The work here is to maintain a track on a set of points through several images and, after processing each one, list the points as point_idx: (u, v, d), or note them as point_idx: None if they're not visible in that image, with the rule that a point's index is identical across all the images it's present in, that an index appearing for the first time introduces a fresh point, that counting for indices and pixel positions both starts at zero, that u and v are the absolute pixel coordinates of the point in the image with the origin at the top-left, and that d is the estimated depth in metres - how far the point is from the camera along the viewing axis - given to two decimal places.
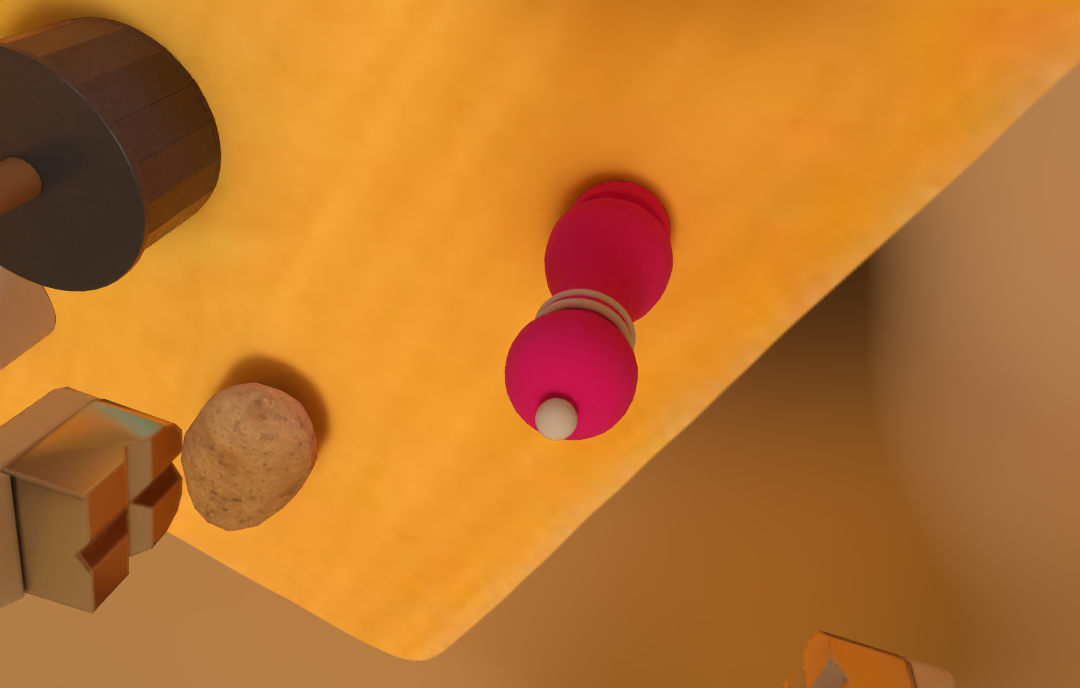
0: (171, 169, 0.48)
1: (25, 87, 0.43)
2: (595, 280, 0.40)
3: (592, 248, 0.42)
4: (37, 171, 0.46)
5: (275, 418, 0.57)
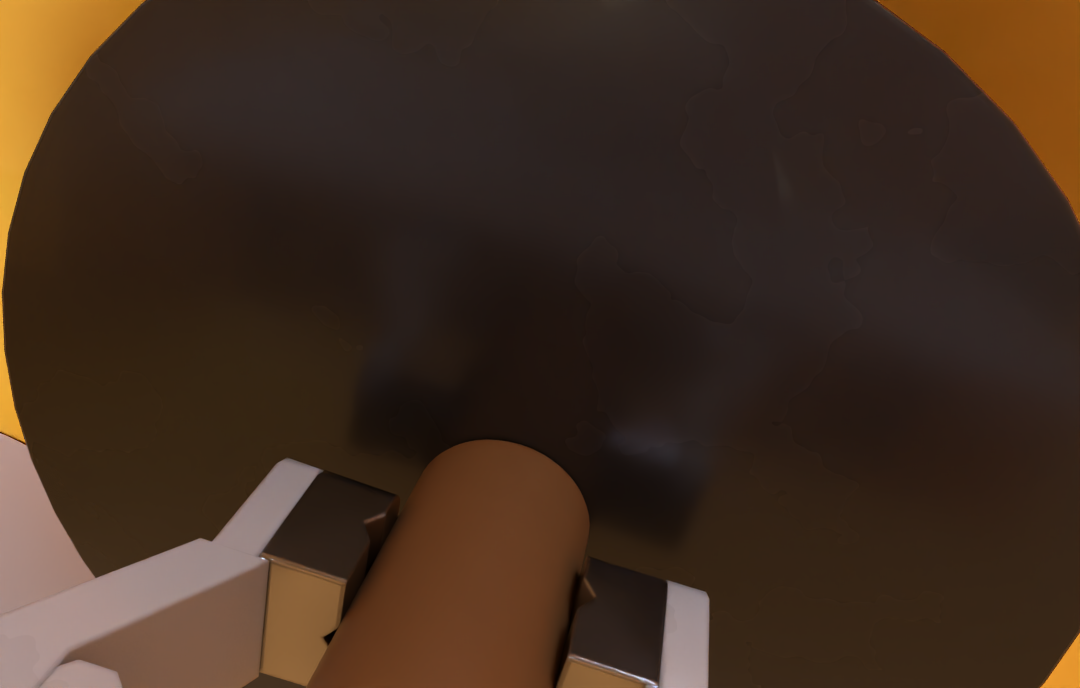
0: None
1: (716, 138, 0.08)
2: None
3: None
4: (586, 497, 0.11)
5: None
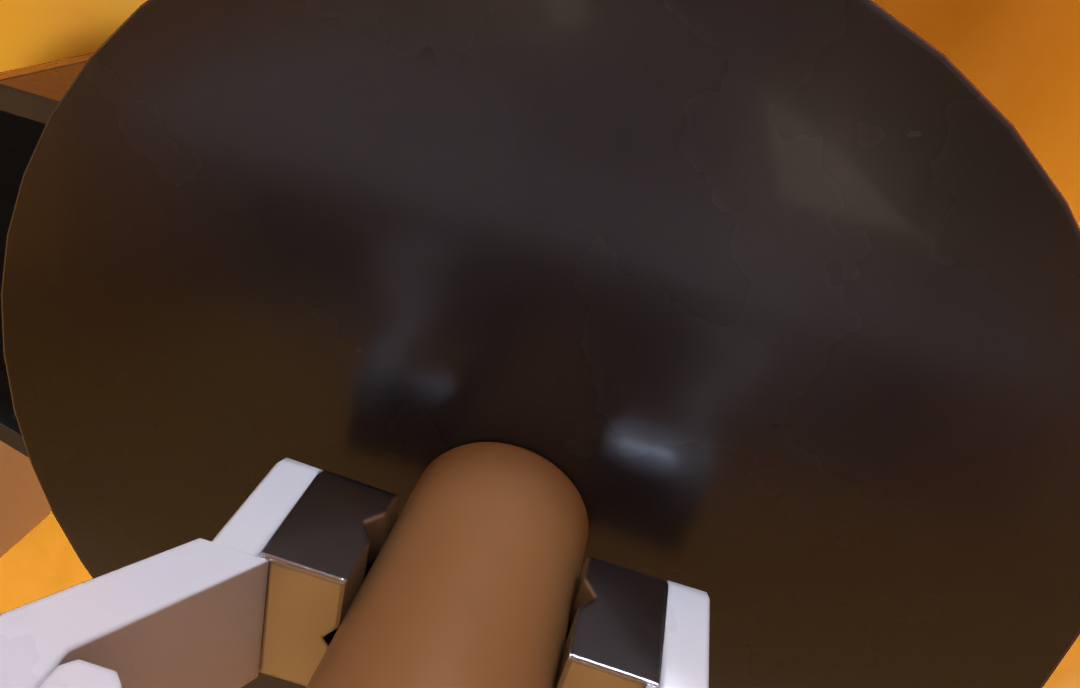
0: None
1: (715, 141, 0.08)
2: None
3: None
4: (585, 499, 0.11)
5: None
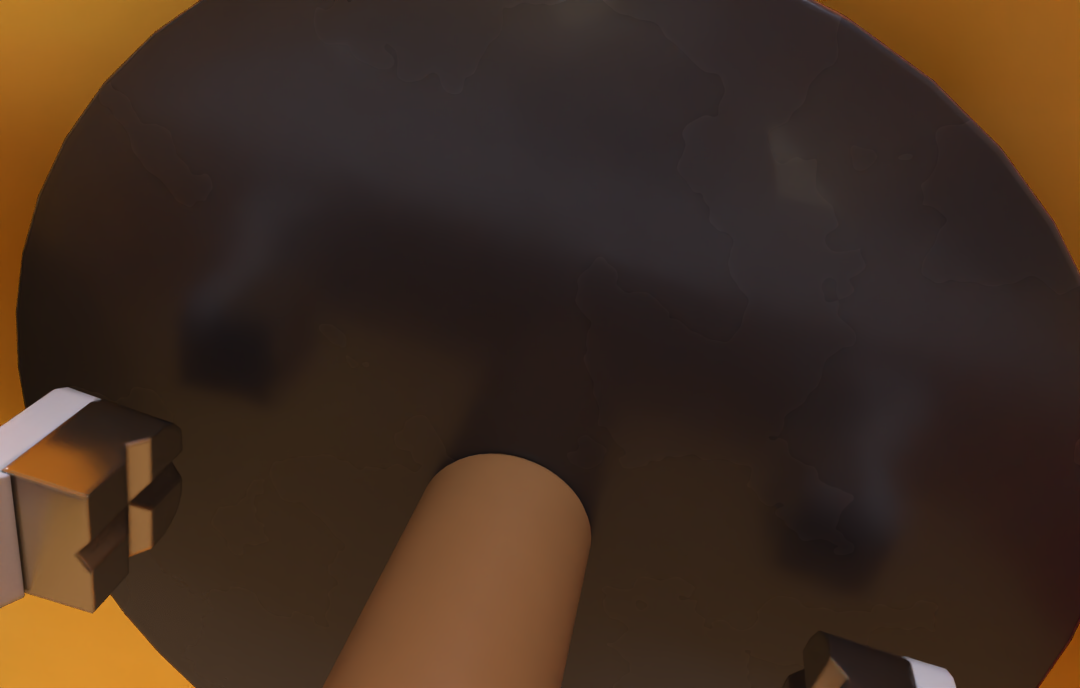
0: None
1: (712, 164, 0.08)
2: None
3: None
4: (588, 510, 0.11)
5: None
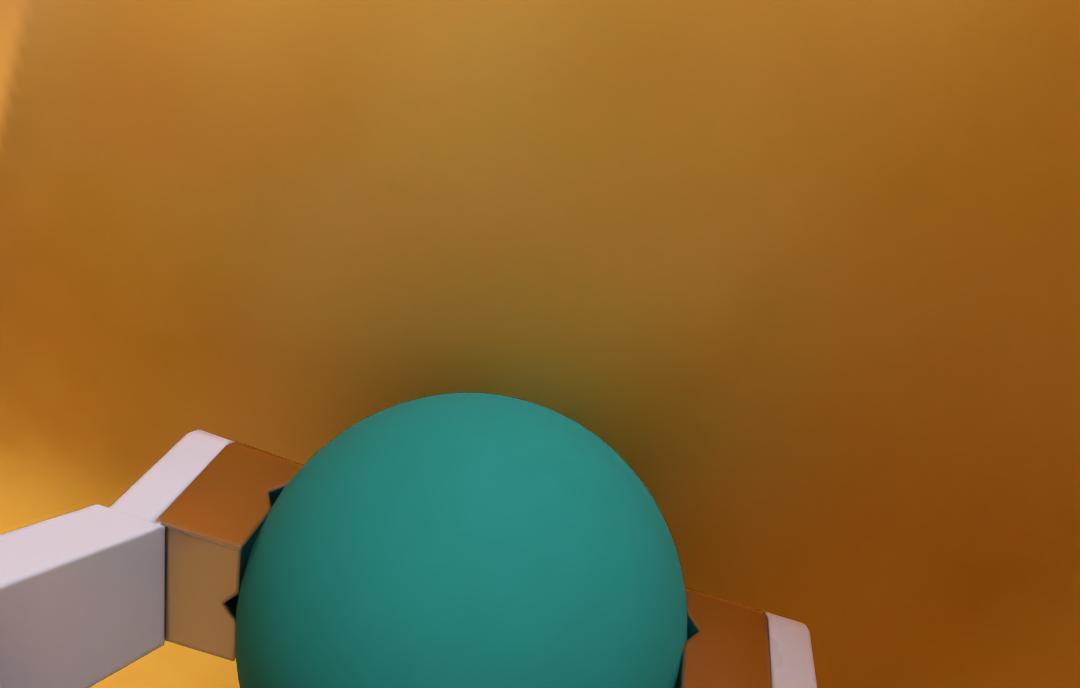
0: None
1: None
2: None
3: None
4: None
5: None
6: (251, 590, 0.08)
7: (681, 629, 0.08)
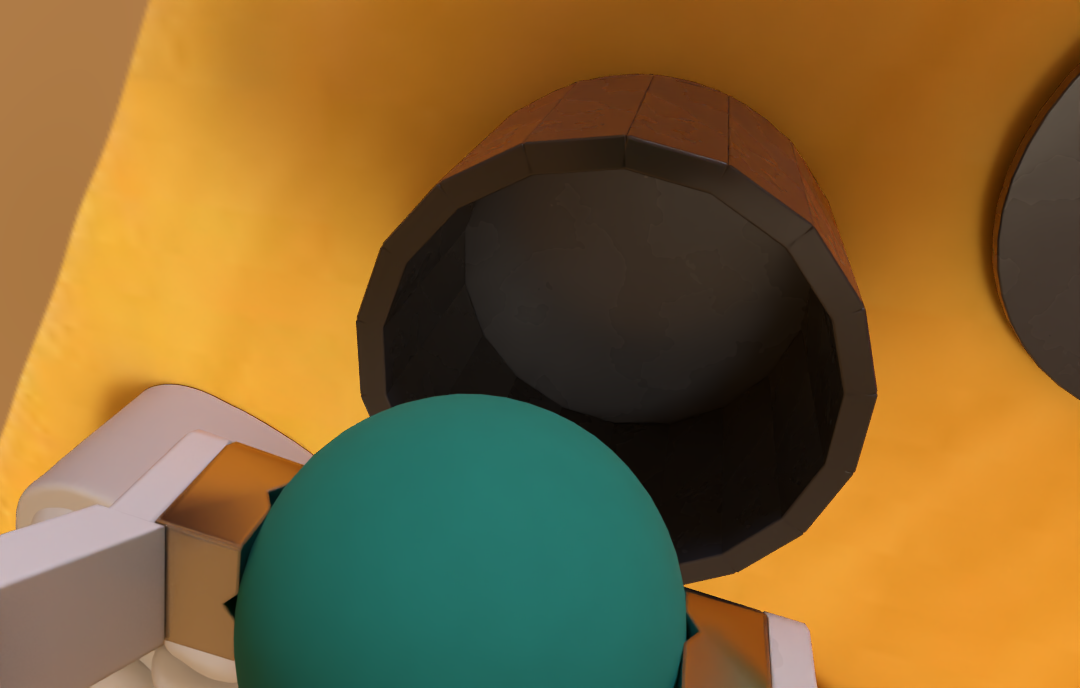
0: None
1: None
2: None
3: None
4: None
5: None
6: (249, 592, 0.08)
7: (680, 631, 0.08)
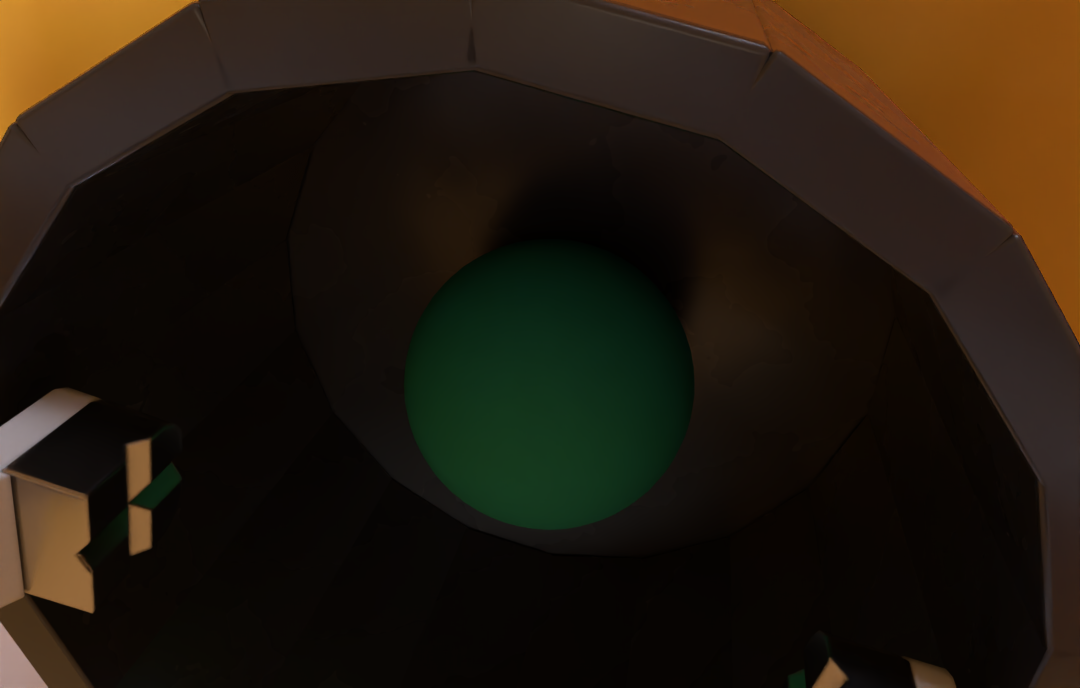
0: None
1: None
2: None
3: None
4: None
5: None
6: (422, 346, 0.13)
7: (690, 379, 0.13)
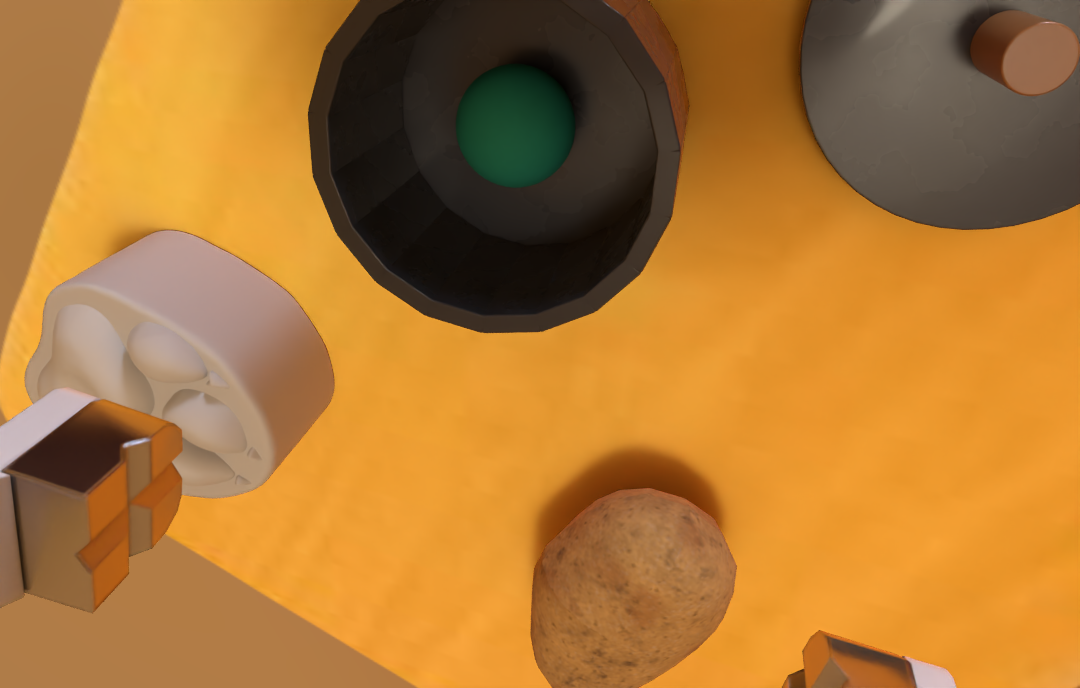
0: None
1: None
2: None
3: None
4: None
5: (712, 544, 0.39)
6: (463, 100, 0.33)
7: (569, 118, 0.33)
